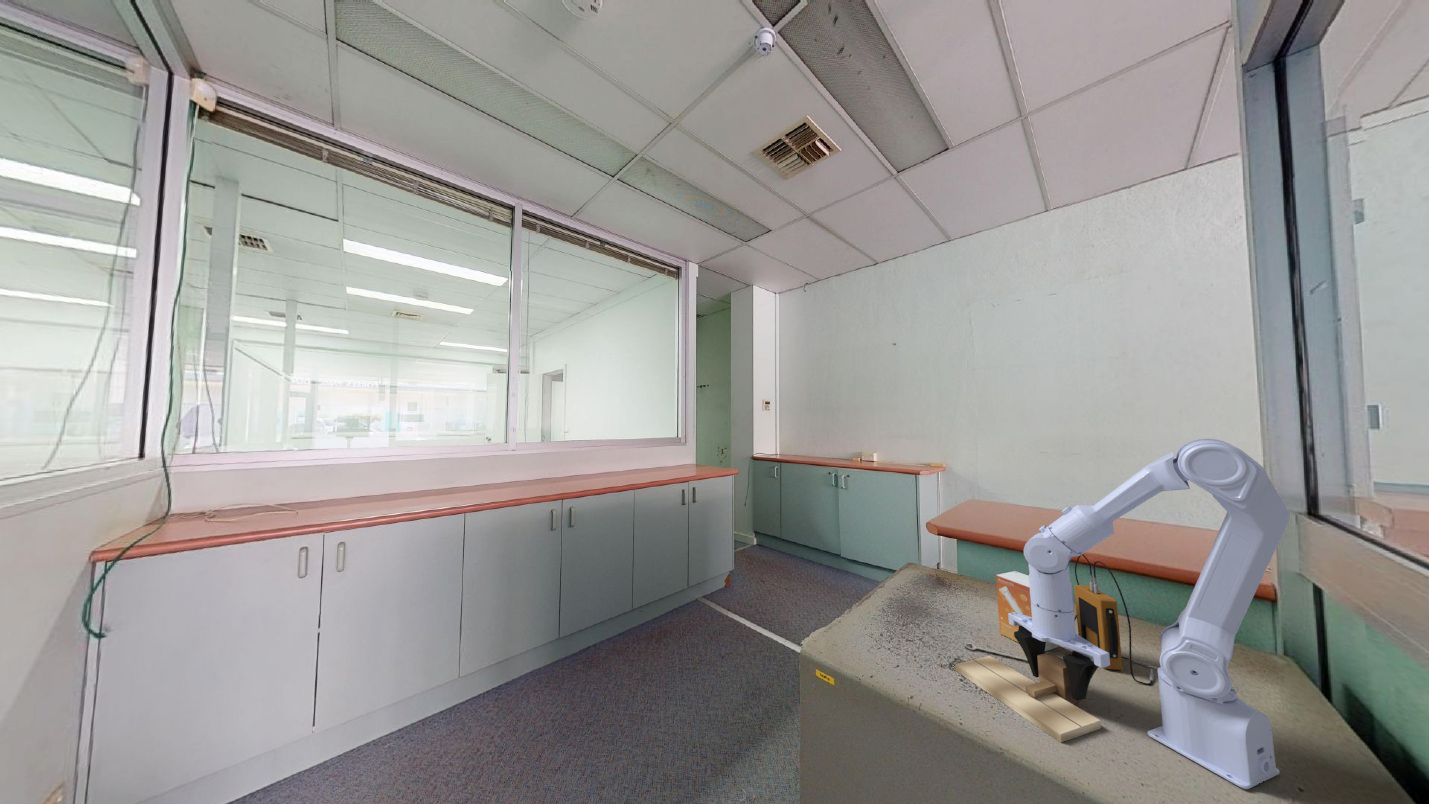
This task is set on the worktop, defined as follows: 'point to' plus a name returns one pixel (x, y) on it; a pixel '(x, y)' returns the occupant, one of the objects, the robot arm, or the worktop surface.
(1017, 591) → the small box
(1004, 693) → the board
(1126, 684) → the worktop surface
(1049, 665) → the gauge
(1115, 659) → the multimeter
